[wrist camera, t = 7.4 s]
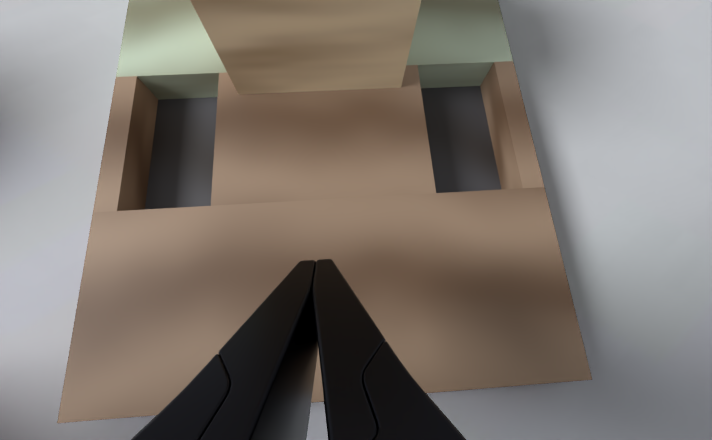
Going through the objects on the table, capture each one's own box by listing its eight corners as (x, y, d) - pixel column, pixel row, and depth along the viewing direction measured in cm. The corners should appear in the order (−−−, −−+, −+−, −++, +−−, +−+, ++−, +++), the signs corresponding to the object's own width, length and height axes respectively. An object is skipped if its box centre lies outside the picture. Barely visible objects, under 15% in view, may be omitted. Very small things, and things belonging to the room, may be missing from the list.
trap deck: (558, 370, 14) (592, 379, 12) (99, 406, 13) (57, 423, 11) (469, -28, 21) (482, -63, 19) (158, -20, 20) (138, -55, 18)
